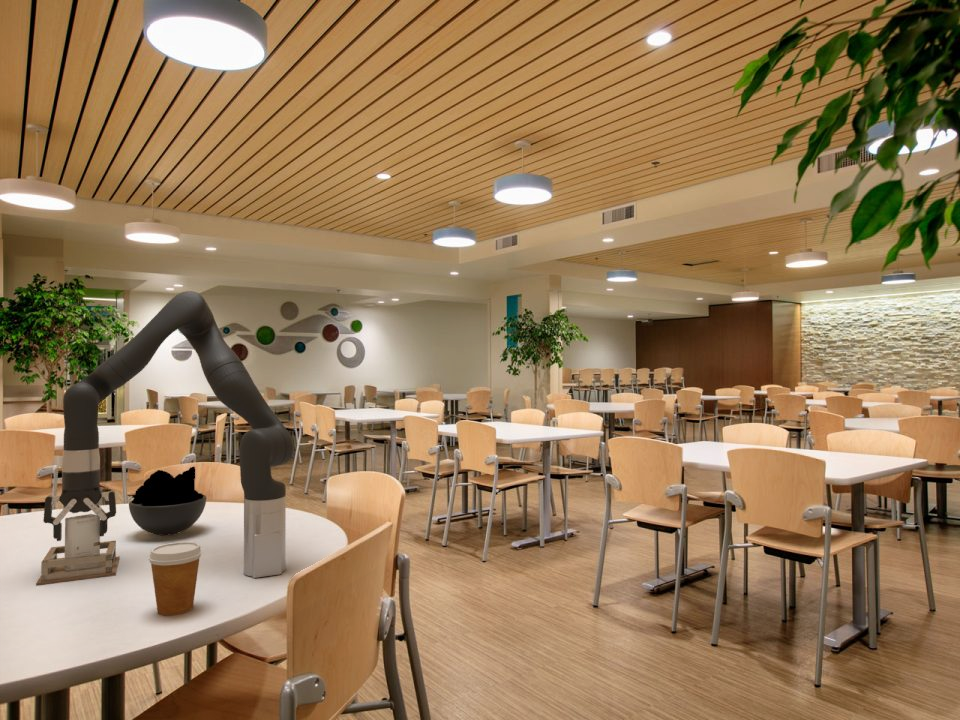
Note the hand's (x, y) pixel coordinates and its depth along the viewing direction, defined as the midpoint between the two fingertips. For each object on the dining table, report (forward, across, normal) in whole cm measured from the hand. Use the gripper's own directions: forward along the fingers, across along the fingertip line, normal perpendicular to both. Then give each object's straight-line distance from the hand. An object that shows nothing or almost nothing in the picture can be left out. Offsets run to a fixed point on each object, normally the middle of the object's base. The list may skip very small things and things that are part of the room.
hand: (80, 538), depth 148 cm
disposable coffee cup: (+8, -19, +37) cm, 42 cm away
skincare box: (+7, 0, 0) cm, 7 cm away
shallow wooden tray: (+8, 0, 0) cm, 8 cm away
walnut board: (+8, 0, 0) cm, 8 cm away
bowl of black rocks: (+8, -19, -28) cm, 35 cm away
